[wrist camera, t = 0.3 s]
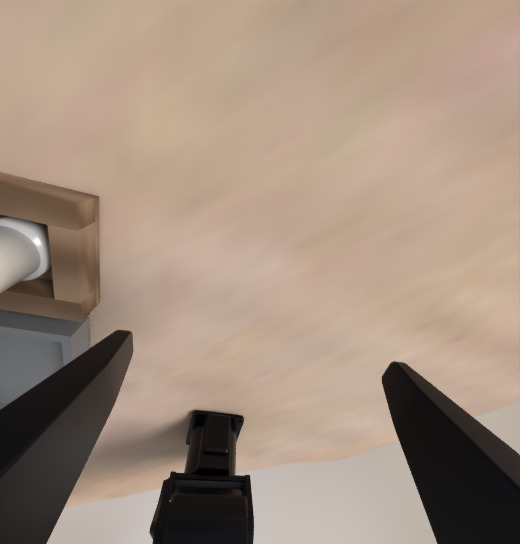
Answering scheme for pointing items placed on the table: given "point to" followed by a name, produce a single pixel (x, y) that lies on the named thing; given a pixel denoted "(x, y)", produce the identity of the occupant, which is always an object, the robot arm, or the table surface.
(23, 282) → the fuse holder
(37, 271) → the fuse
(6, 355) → the parts tray
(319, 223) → the table surface
